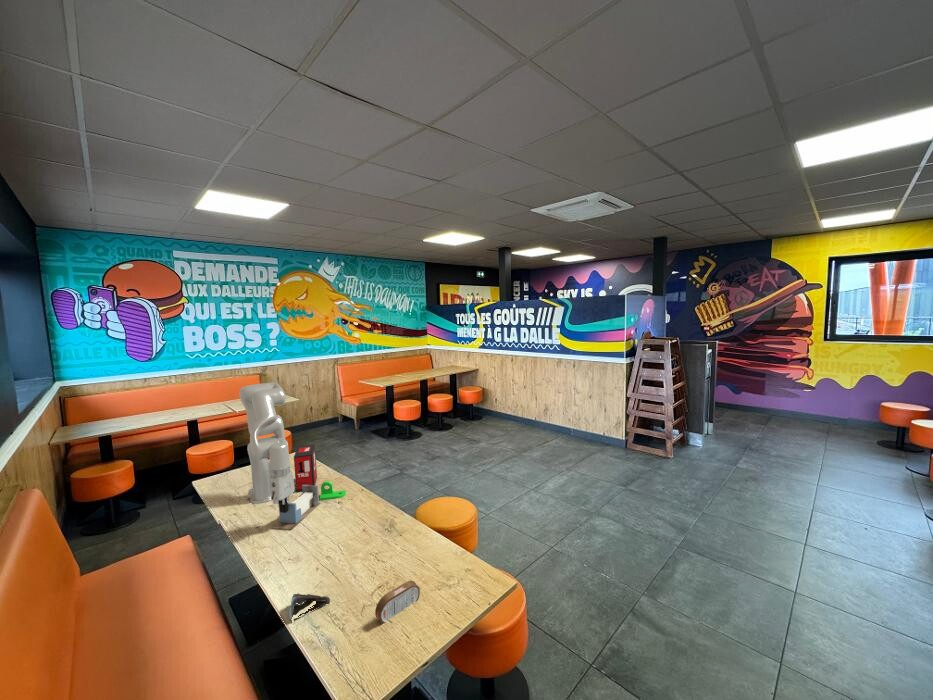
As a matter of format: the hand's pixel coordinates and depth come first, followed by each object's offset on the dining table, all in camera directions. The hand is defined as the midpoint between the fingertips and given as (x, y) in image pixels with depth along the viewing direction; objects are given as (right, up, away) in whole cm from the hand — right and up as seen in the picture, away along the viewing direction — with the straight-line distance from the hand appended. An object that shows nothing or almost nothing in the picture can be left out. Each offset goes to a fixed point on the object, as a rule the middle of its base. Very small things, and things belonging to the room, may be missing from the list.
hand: (284, 511), depth 164 cm
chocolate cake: (+33, -13, -44) cm, 57 cm away
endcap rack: (+2, -7, +10) cm, 12 cm away
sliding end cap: (+1, -6, +5) cm, 8 cm away
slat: (+2, -5, +12) cm, 13 cm away
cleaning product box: (-8, -4, +42) cm, 43 cm away
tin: (+60, -11, -48) cm, 77 cm away
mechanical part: (+12, -5, +27) cm, 30 cm away
